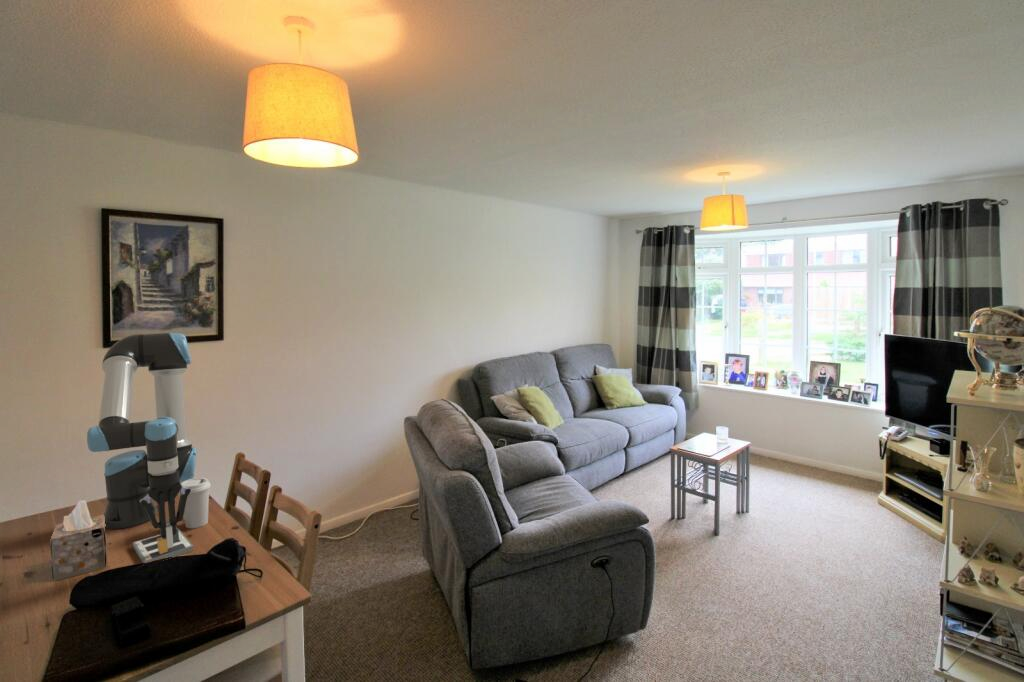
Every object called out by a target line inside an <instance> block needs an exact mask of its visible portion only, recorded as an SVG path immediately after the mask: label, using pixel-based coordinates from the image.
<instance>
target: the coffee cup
mask: <svg viewBox="0 0 1024 682" xmlns="http://www.w3.org/2000/svg"><path fill="white" fill-rule="evenodd" d="M180 484H181V485H182V487H188V488H189V489H190V490H191V491H190V493H189V495H188V496H187V501H186V506H185V510H184V515H183V520H184V524H185V528H187V529H198V528H202V527H203V526H206V525H207V524H208V522H209V499H210V487H211V485H212V484H211V483H210V481H209V479H208V478H206V477H195V478H194V477H193V478H192V479H189V480H186V481H184V482H180ZM178 494H179V495H181V493H180V492H179V493H178Z"/></svg>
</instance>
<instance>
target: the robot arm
mask: <svg viewBox="0 0 1024 682" xmlns="http://www.w3.org/2000/svg"><path fill="white" fill-rule="evenodd" d="M189 348H190V347H189V345H188V339H187V337H186V335H185V334H183V333H179V332H178V333H175V332H167V333H163V332H161V333H145V334H140V333H137V334H130V335H128V336H125V337H123V338H120V339H119V340H118V341H116V342H114V344H113V345H111V346H110V347H109V349H108V350H107V352H106V353H105V354H104V357H103V358H102V364H101V369H102V371H103V372H104V380H103V387H102V393H101V395H102V396H101V402H100V410H99V417H98V425H95V426H91V427H89V428H88V429H87V433H86V443H87V447H88V448H87V449H88V450H89V451H90V452H92V453H98V452H99V453H101V452H109V451H116V450H117V451H118V450H124V449H129V448H139V447H140V448H141V447H145V448H146V450H145V449H134V450H130V451H126V452H122V453H119V454H116V455H114V456H111V457H110V458H108V460H106V462H105V463H104V478H105V488H106V489H105V490H106V499H107V501H106V506H105V509H104V511H103V515H104V516H105V524H106V528H105V529H110V530H111V529H112V530H116V529H117V530H118V529H126V528H130V527H134V526H137V525H141V524H143V523H145V522H148V521H150V524H151V526H152V527H153V528H154V529H159V532H160V533H159V534H160V535H161V537H162V538H167V546H168V548H171V547H173V535H175V534H176V527H177V524H178V523H180V522H182V521H183V520H184V510H185V506H186V501H187V496H188V495H189V493H190V491H191V490H190V489H189V488H188V487H182V485H181V483H182V482H184V481H186V480H189V479H193V478H194V477H195V474H196V473H195V471H196V470H195V469H196V463H197V462H196V461H197V447H194V446H193V444H192V443H193V442H191V441H190V440H188V438H187V427H186V426H187V425H186V423H187V422H186V411H185V395H184V394H185V392H184V379H183V378H184V377H183V375H184V373H185V372H186V371H187V370H188V365H191V364H192V359H191V353H190V349H189ZM138 368H148V373H150V374H151V375H152V376H153V379H154V395H155V396H154V397H155V399H154V400H155V413H156V415H155V416H156V418H155V419H152V420H145V421H136V422H130V420H131V412H132V411H131V410H132V409H131V408H132V397H133V395H132V394H133V382H134V374H135V373H136V372H137V370H138ZM179 492H180V493H181V495H180V493H179ZM178 495H180V497H179V500H178V506H177V511H176V505H175V504H176V502H175V501H176V500H175V499H176V498H177V496H178ZM154 501H155V502H156V503H157V505H155V503H154ZM166 502H167V509H168V520H169V522H170V524H166V522H167V519H166ZM157 512H158V520H157V518H156V515H157Z"/></svg>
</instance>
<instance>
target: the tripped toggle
mask: <svg viewBox="0 0 1024 682" xmlns="http://www.w3.org/2000/svg"><path fill="white" fill-rule="evenodd" d="M157 545H158V552H159V553H160V554H162V553H165V552H168V546H167V538H162V537H160V538H157Z"/></svg>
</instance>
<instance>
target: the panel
mask: <svg viewBox="0 0 1024 682" xmlns="http://www.w3.org/2000/svg"><path fill="white" fill-rule="evenodd" d="M166 524H170V522H169V521H166ZM160 537H161V535H160V533H159V534H157V535H153V536H150V537H145V538H143V539H140V540H137V541H136V540H135V541H133V542H132V547H133V550H134V551H135V553H136V554H137V556H138V557H139V559H140V561H141V563H142V564H143V563H147V562H151V561H154V560H158V559H162V558H168V557H172V558H175V557H178V556H180V555H184V554H187V553H190V552H193V551H194V545H193V544H192V543H191V541H190V540H189V538H188V537H186V535H185V534H184V533H183V532H182V531H181V530H180V528H178V527H177V526H176V534H175V535H173V547H171V548H168V552H165V553H162V554H160V553H159V552H158V545H157V538H160Z"/></svg>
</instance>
